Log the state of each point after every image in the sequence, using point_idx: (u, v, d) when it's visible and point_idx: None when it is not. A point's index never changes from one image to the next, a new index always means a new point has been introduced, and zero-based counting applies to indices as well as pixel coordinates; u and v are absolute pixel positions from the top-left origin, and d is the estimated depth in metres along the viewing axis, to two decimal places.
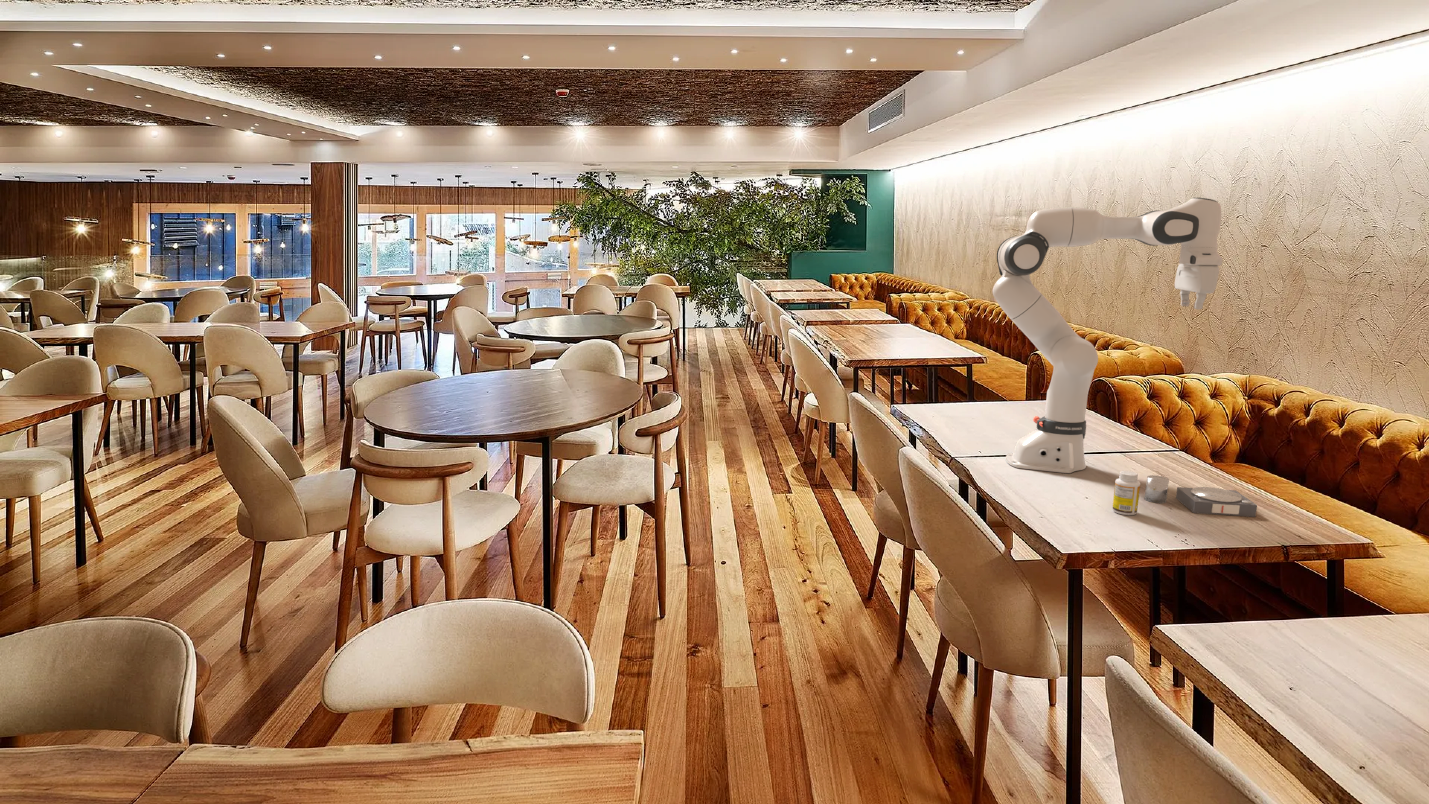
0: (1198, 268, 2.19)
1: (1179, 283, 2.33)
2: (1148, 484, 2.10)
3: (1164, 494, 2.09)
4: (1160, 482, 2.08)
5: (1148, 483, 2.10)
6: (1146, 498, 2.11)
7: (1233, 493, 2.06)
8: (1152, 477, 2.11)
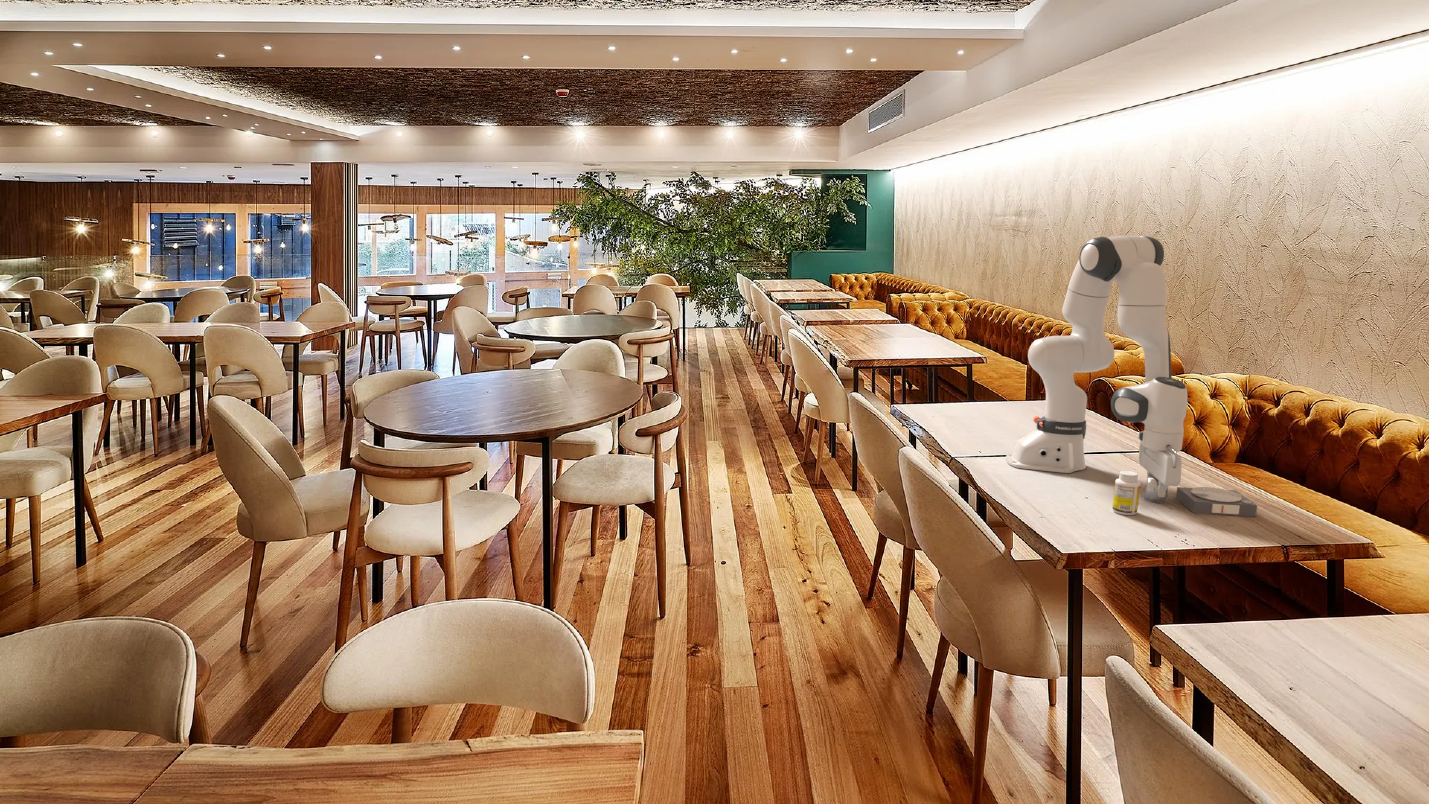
0: None
1: None
2: (1148, 484, 2.10)
3: None
4: None
5: (1148, 483, 2.10)
6: (1146, 498, 2.11)
7: (1233, 493, 2.06)
8: (1152, 477, 2.11)
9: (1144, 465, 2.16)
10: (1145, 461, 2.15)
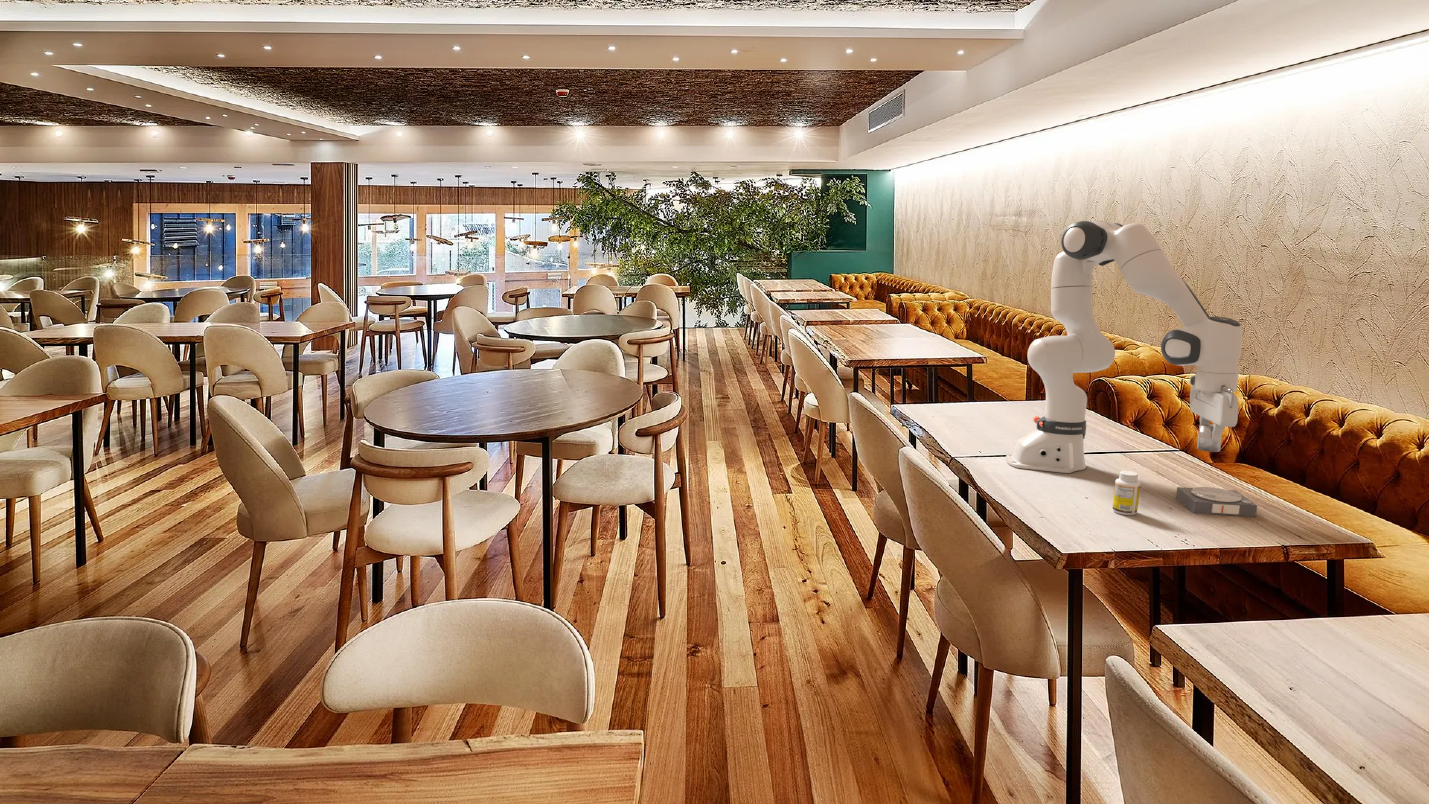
0: None
1: None
2: (1201, 432, 2.03)
3: (1218, 442, 2.01)
4: None
5: (1201, 431, 2.03)
6: (1199, 447, 2.04)
7: (1233, 493, 2.06)
8: (1205, 425, 2.04)
9: (1196, 411, 2.08)
10: (1198, 407, 2.07)
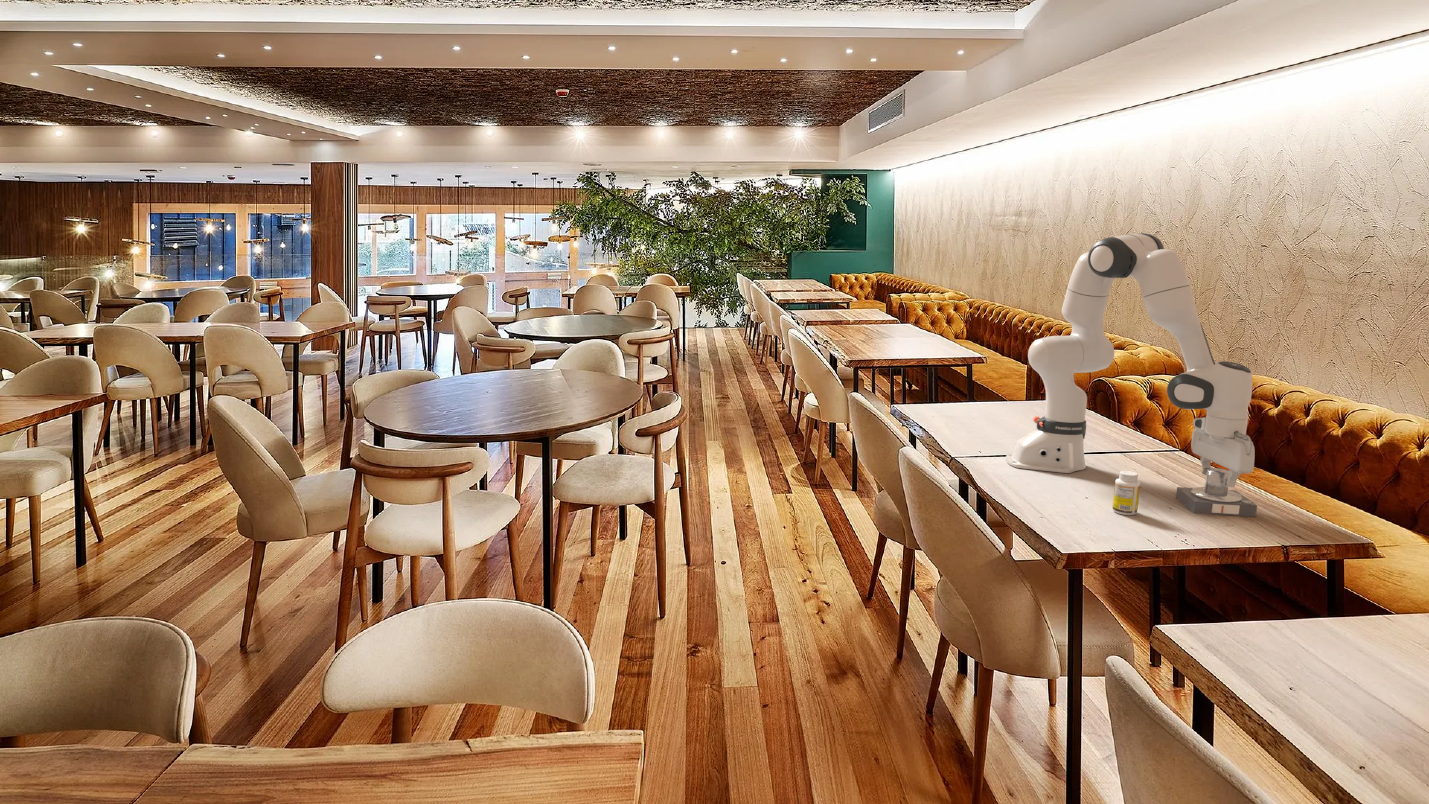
0: None
1: None
2: (1210, 477, 2.04)
3: (1227, 487, 2.03)
4: (1224, 475, 2.02)
5: (1210, 476, 2.04)
6: (1208, 492, 2.05)
7: (1233, 493, 2.06)
8: (1213, 470, 2.05)
9: (1201, 453, 2.09)
10: (1203, 449, 2.08)
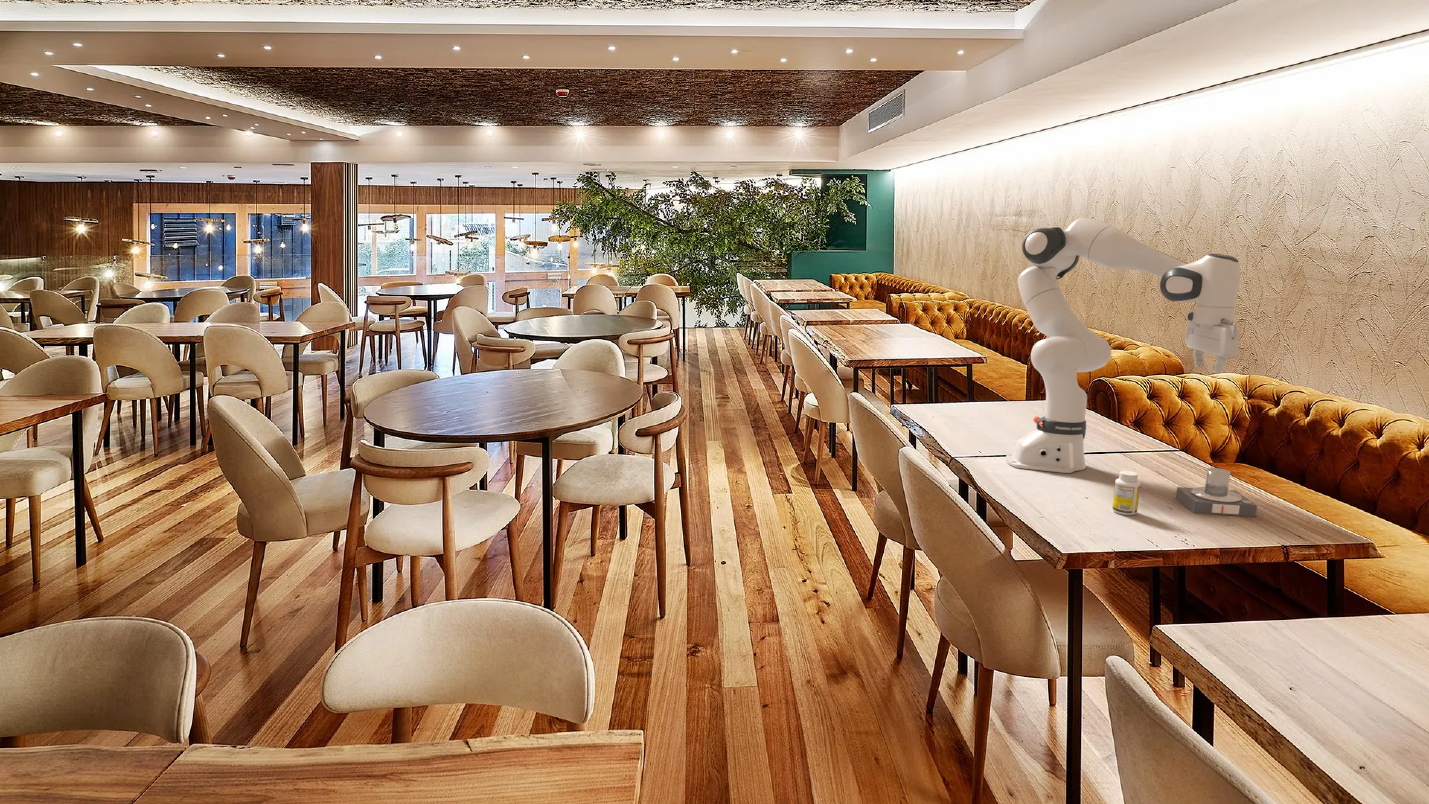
0: None
1: None
2: (1210, 477, 2.04)
3: (1227, 487, 2.03)
4: (1224, 475, 2.02)
5: (1210, 476, 2.04)
6: (1208, 492, 2.05)
7: (1233, 493, 2.06)
8: (1213, 470, 2.05)
9: (1193, 345, 2.18)
10: (1195, 341, 2.18)
